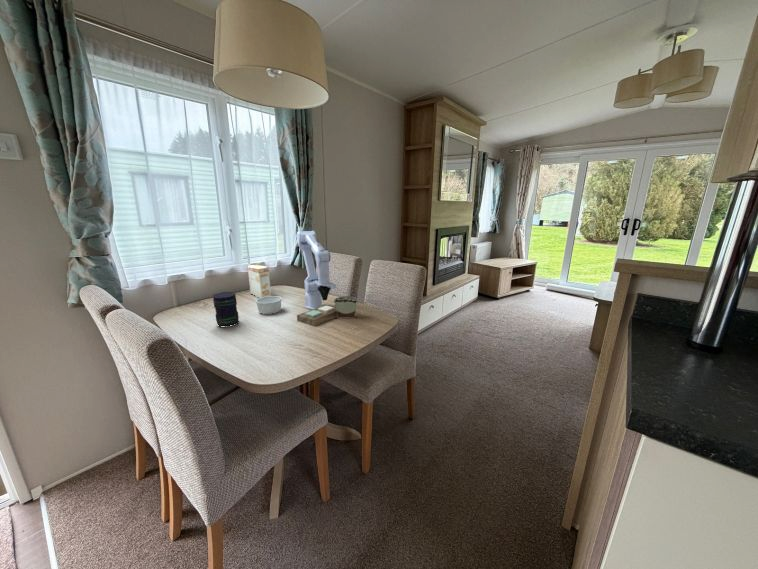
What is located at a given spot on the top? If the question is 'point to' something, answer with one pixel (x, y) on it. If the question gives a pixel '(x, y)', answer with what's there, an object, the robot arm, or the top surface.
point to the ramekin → (269, 304)
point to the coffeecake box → (259, 280)
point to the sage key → (313, 313)
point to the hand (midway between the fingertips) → (324, 299)
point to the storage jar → (226, 308)
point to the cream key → (326, 309)
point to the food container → (345, 307)
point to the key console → (317, 317)
